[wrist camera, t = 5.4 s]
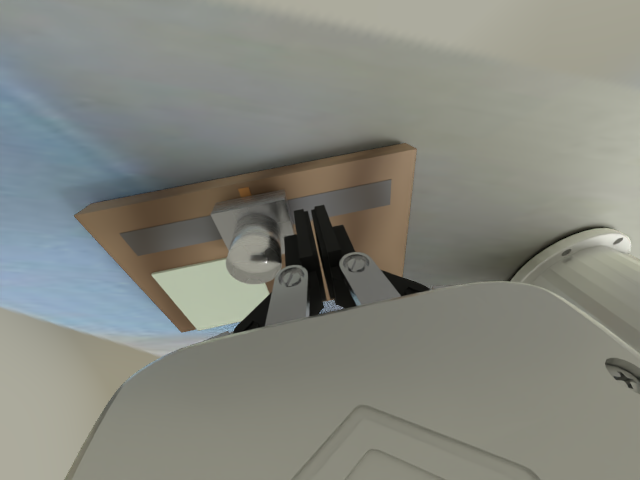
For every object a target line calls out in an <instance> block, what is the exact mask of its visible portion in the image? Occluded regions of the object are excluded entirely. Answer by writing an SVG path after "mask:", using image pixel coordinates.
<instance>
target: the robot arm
mask: <svg viewBox="0 0 640 480" xmlns="http://www.w3.org/2000/svg"><path fill="white" fill-rule="evenodd" d="M311 213H312V218H313V224H314V229H315V234H316V240H317V245H318V250H319V255H320V259H321V263H322V267H323V271H324V276H325V280H326V284H327V288H328V292H329V297H330V300H331V299H334V300H335V303H336V305H340V306H342V307H344V308H345V309H341V310H336V311H332V312H327V313H323V314H319V312H320V311H321V310H322V309H323V308H324V306H323V301H327V298H326V293H325V288H324V283H323V278H322V272H321V267H320V262H319V257H318V252H317V248H316V244H315V239H314V235H313V231H312V226H311V222H310V218H309V213H308V211H304V209H300V210H295V211H294V218H295V225H296V233H297V234H295V235H290V236H285V237H284V245H285V268H283V269H281V270H280V271H279V272H278V273H277V274H276V277H275V280H274V285H273V290H272V292H271V293H270V294H269V295H268V296H267V297H266V298H265V299H264V300H263V301H262V302H261V303H260V304H259V305H258V306H257V307H256V308H255V309H254V310H253V311H252V312H251V313H250V314H249V315H248V316H246V317H245V318H244V319H243V320H242V321H241V322H240V323H239V324H238V326H237V327H236V328H235V330H234V331H233V332H231V333H229V332H228V331H226V332H224V333H222V334H219V335H217V336H215V337H212V338H210V339H208V340H205V341H203V342H200V343H196V344H193V345H190V346H187V347H184V348H181V349H178V350H176V351H174V352H172V353H169V354H167V355H165V356H163V357H161V358H159V359H158V360H155V361H154V362H152V363H150V364H148V365H146V366H145V367H143V368H142V369H140V370H139V371H138V372H136V373H135V374H133V375H132V376H131V377H130V378H129V379H127V380H126V382H124V383H123V384H122V385H121V387H120V388H119V389H118V390H117V391H116V392H115V394H114V395H113V397H112V398H111V400H110V401H109V402H108V404H107V405H106V407H105V408H104V410H103V412H102V413H101V415H100V417H99V418H98V420H97V421H96V423H95V425H94V426H93V428H92V430H91V432H90V433H89V435H88V437H87V439H86V440H85V442H84V444H83V446H82V447H81V450H80V451H79V453H78V455H77V457H76V459H75V461H74V463H73V465H72V467H71V468H70V470H69V472H68V474H67V476H66V478H65V479H64V480H640V260H639V259H637V258H636V257H634V256H632V255H630V254H629V253H630V250H631V241H630V238H629V237H628V236H627V235H625V234H623V233H621V232H619V231H616V230H614V229H610V228H596V229H591V230H587V231H583V232H580V233H577V234H574V235H571V236H569V237H567V238H565V239H562V240H560V241H558V242H557V243H555V244H553V245H551V246H549V247H548V248H546V249H545V250H543V251H542V252H540V253H539V254H537V255H536V256H535V257H533V258H532V259H531V260H530V261H528V262H527V263H526V264H525V265H524V266H523V267H522V268H521V269H520V270H519V271H518V272H517V273H516V274H515V276H514V277H513V278H512V279H511V281H510V282H509V281H483V282H473V283H467V284H461V285H444V286H433V287H432V288H431V289H429V288H427V287H426V286H424V285H422V284H419V283H417V282H414V281H411V280H408V279H405V278H403V277H400V276H397V275H394V274H391V273H389V272H386V271H383V270H380V269H379V267H378V266H377V265H376V263H375V262H374V261H373V260H372V258H371V257H370V256H368V255H367V254H365V253H361V252H355V250H354V248H353V245H352V243H351V241H350V239H349V236H348V234H347V232H346V230H345V227H344V225H338V226H333V227H332V225H331V222H330V219H329V216H328V214H327V211H326V208H325V206H324V205H320V206H315V207H314V209H313V210H311Z"/></svg>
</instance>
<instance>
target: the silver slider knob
mask: <svg viewBox="0 0 640 480" xmlns="http://www.w3.org/2000/svg"><path fill="white" fill-rule="evenodd" d="M210 215H211V217H212V219H213V221H214V223H215V225H216V227H217V229H218V231H219V233H220V235H221V237H222V239H223V241H224V243H225V245H226V246H227V248H228V250H229V252H228V255H227V259H226V268H227V270H228V272H229V274H230V275H231V276H232V277H233V278H235V279H236V280H238V281H240V282H243V283H247V284H262V283H266V282H269V281H271V280H272V279H274V278H275V277H276V274H277V273H278V272H279V271H280V270H281V267H282V257H281V254H285V245H284V237H285V236H290V235H295V234H296V233H295V229H294V225H293V221H292V218H291V214H290V210H289V206H288V202H287V198H286V194H285V190H284V189H283V190H278V191H273V192H267V193H262V194H257V195H252V196H247V197H242V198H237V199H232V200H227V201H222V202H217V203H216V204H215V206H214V208H213V210H212V212H211V214H210Z"/></svg>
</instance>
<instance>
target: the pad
mask: <svg viewBox="0 0 640 480" xmlns="http://www.w3.org/2000/svg"><path fill="white" fill-rule="evenodd" d="M226 259H227V258H222V259H217V260H212V261H207V262H203V263H198V264H193V265H188V266H183V267H178V268H174V269H169V270H164V271H159V272H154V273H152V274H151V275H152V277H153V278H154V279H155V280H156V281H157V282H158V284H159V285H160V286H161V287H162V288H163V290H164V291H165V292H166V293H167V294H168V296H169V297H170V298H171V299H172V300H173V302H174V303H175V304H176V305H177V306H178V307H179V309H180V310H181V311H182V312H183V313H184V315H185V316H186V317H187V318H188V319H189V321H190V322H191V323H192V324H193V325H194V327H195V328H196V329H197V330H198V331H200V330H204V329H209V328H213V327H218V326H223V325H227V324H232V323H236V322H241V321H242V320H243V319H244V318H245V317H246V316H248V315H249V314H250V313H251V312H252V311H253V310H254V309H255V308H256V307H257V306H258V305H259V304H260V303H261V302H262V301H263V300H264V299H265V298H266V297H267V296H268V295H269V294H270V293H269V291H268V289H267V286H266V284H265V283H262V284H247V283H243V282H240V281H238V280H236V279H235V278H233V277H232V276H231V275H230V274H229V272H228V270H227V268H226Z"/></svg>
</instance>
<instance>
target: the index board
mask: <svg viewBox="0 0 640 480" xmlns="http://www.w3.org/2000/svg"><path fill="white" fill-rule="evenodd" d="M416 152H417V149H416V148H414V147H412V146H410V145H408V144H407V143H402V144H397V145H392V146H387V147H382V148H377V149H371V150H366V151H361V152H356V153H351V154H346V155H340V156H335V157H330V158H325V159H320V160H314V161H309V162H304V163H299V164H294V165H289V166H283V167H278V168H273V169H268V170H263V171H258V172H252V173H247V174H242V175H237V176H232V177H227V178H221V179H216V180H211V181H206V182H201V183H195V184H190V185H185V186H180V187H175V188H170V189H164V190H159V191H154V192H149V193H144V194H139V195H133V196H128V197H123V198H118V199H113V200H108V201H102V202H97V203H92V204H90V205H88V206H87V207H86V208H84V209H83V210H81V211H80V212H78V213H77V214H75V215H74V217H75V218H76V219H77V220H78V221H79V222H80V223H81V224H82V225H83V227H84V228H85V229H86V230H87V231H88V232H89V233H90V234H91V235H92V236H93V237H94V238H95V240H96V241H97V242H98V243H99V244H100V245H101V246H102V247H103V248H104V249H105V250H106V251H107V252H108V254H109V255H110V256H111V257H112V258H113V259H114V260H115V261H116V262H117V263H118V264H119V265H120V266H121V268H122V269H123V270H124V271H125V272H126V273H127V274H128V275H129V276H130V277H131V278H132V279H133V281H134V282H135V283H136V284H137V285H138V286H139V287H140V288H141V289H142V290H143V291H144V292H145V293H146V295H147V296H148V297H149V298H150V299H151V300H152V301H153V302H154V303H155V304H156V305H157V306H158V308H159V309H160V310H161V311H162V312H163V313H164V314H165V315H166V316H167V317H168V318H169V319H170V320H171V322H172V323H173V324H174V325H175V326H176V327H177V328H178V329H179V330H180V331H181V332H186V331H191V330H196V328H195V327H194V325H193V324H192V323H191V322H190V321H189V319H188V318H187V317H186V316H185V315H184V313H183V312H182V311H181V310H180V309H179V307H178V306H177V305H176V304H175V303H174V302H173V300H172V299H171V298H170V297H169V296H168V294H167V293H166V292H165V291H164V290H163V288H162V287H161V286H160V285H159V284H158V282H157V281H156V280H155V279H154V278H153V277H152V275H151V274H152V273H154V272H159V271H164V270H169V269H174V268H178V267H183V266H188V265H193V264H198V263H203V262H207V261H212V260H217V259H222V258H227V255H228V252H229V250H228V248H227V246H226V245H225V243H224V241H223V239H222V237H221V235H220V233H219V231H218V229H217V227H216V225H215V223H214V221H213V219H212V217H211V215H210V214H211V212H212V210H213V208H214V206H215V204H216V203H217V202H222V201H227V200H232V199H237V198H242V197H247V196H252V195H257V194H262V193H267V192H273V191H278V190H283V189H284V190H285V194H286V198H287V202H288V206H289V210H290V214H291V218H292V221H293V225H294V229H295V233H296V225H295V218H294V211H295V210H300V209H304V211H308V213H309V218H310V222H311V226H312V231H313V235H314V239H315V244H316V248H317V252H318V257H319V262H320V267H321V272H322V278H323V283H324V288H325V293H326V298H327V301H328V300H330V297H329V292H328V288H327V284H326V280H325V276H324V271H323V267H322V263H321V259H320V255H319V250H318V245H317V240H316V234H315V229H314V224H313V218H312V213H311V210H313V209H314V207H315V206H320V205H324V206H325V208H326V211H327V214H328V216H329V219H330V222H331V225H332V227H333V226H338V225H344V227H345V230H346V232H347V234H348V236H349V239H350V241H351V243H352V245H353V248H354V250H355V252H361V253H365V254H367V255H368V256H370V257H371V258H372V260H373V261H374V262H375V263H376V265H377V266H378V267H379V269H380V270H383V271H386V272H389V273H391V274H394V275H397V276H400V277H403V268H404V259H405V250H406V241H407V232H408V223H409V214H410V206H411V197H412V188H413V179H414V170H415V161H416ZM296 234H297V233H296ZM281 257H282V267H281V269H283V268H285V254H281ZM274 280H275V278H274V279H272V280H271V281H269V282H266V283H265V284H266V286H267V289H268V291H269V293H271V292H272V290H273V285H274ZM331 300H333V299H331ZM323 302H324V301H323Z"/></svg>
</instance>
